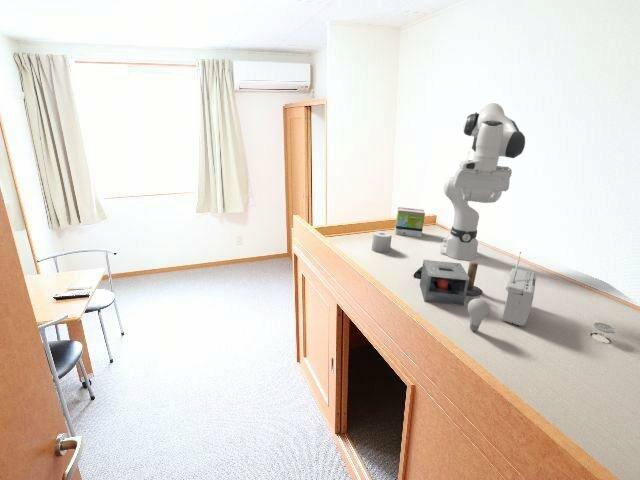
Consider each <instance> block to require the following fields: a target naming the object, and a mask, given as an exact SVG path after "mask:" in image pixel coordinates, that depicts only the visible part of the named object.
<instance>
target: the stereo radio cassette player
mask: <svg viewBox="0 0 640 480" xmlns="http://www.w3.org/2000/svg"><path fill="white" fill-rule="evenodd" d="M521 254H522V252H521V251H519V256H518V259H517V262H516V264H515V265H516V266H515V268H513V267H512V268H511V271H510V274H509V276H508V277H509V278H508V281H507V284H506V286H505V290H506V292H507V295H506V298H505V299H506V300H505V304H504V307H503V312H502V315H501V321H503V322H507V323H509V324H512V323H513V325H517V326H518V325H519V327H523V326H526V324H527V321H528V319H529V316H530V312H531V310H532V305H533V301H534V296H535V295H534V294H535V290H536V289H535V288H536V287H535V286H536V280H537V274H536V273H535V272H534V271H529V270H525V269H520V268H518V267H519V263H520V259H521Z"/></svg>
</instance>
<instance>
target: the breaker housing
mask: <svg viewBox="0 0 640 480" xmlns="http://www.w3.org/2000/svg"><path fill="white" fill-rule="evenodd" d="M422 266H423V267H422ZM422 266H421V267H422V273H421V279H419V280H420V281H419V288H420V291H421V295H422V298H423V301H424V302H429V303H439V304H447V305H455V306H463V307H464V306H465V302H466V298H467V295H466V293H467V288H468V283H469V276H468V275H467V274H468V272H466V270H465V268H464V266H463V265H462V264H461V263H458V262H452V261H451V262H450V261H440V260H431V259H429V260H428V259H423V260H422ZM438 279H446V280H448V281H449V283H448V288H447V289H441V288H436V286H437V280H438Z"/></svg>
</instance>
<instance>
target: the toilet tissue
mask: <svg viewBox="0 0 640 480" xmlns="http://www.w3.org/2000/svg"><path fill="white" fill-rule="evenodd" d="M392 236H393V234H392V233H390V232H388V231H382V230H376V231H374V232H373V234H372V242H371V243H372V244H371V245H372V246H371V251H373V252H375V253H378V252H379V254H387V252H388V253H390V252H391V244H392V238H393V237H392ZM389 251H390V252H389Z"/></svg>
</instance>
